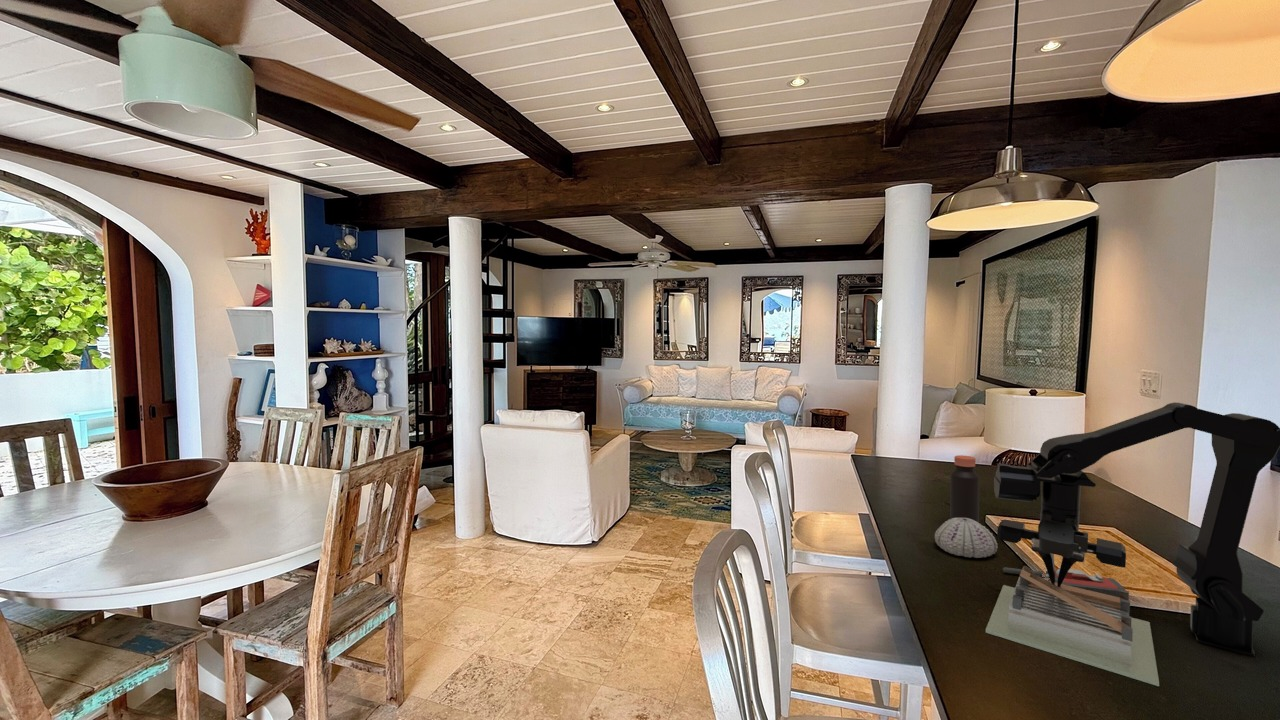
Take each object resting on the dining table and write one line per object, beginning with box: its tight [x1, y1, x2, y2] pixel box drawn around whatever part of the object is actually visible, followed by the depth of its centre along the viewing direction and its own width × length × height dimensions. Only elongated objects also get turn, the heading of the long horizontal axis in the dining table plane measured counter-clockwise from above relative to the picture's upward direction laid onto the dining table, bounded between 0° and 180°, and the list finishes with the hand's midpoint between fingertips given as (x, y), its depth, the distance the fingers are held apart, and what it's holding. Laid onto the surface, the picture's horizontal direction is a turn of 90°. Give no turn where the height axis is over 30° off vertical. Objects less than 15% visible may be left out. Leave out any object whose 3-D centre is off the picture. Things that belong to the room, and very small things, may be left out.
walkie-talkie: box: [1002, 566, 1127, 598], centre depth 108 cm, size 9×4×20 cm
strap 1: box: [1028, 581, 1127, 607], centre depth 97 cm, size 15×3×1 cm, turn 48°
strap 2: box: [1019, 565, 1130, 633], centre depth 88 cm, size 15×3×1 cm, turn 48°
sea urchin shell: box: [934, 518, 999, 559], centre depth 128 cm, size 13×14×8 cm
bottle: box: [949, 454, 980, 524], centre depth 142 cm, size 7×7×20 cm
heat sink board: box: [985, 567, 1160, 687], centre depth 93 cm, size 22×22×7 cm
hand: (1056, 584), depth 98 cm, fingers closed, pressing on strap 1
